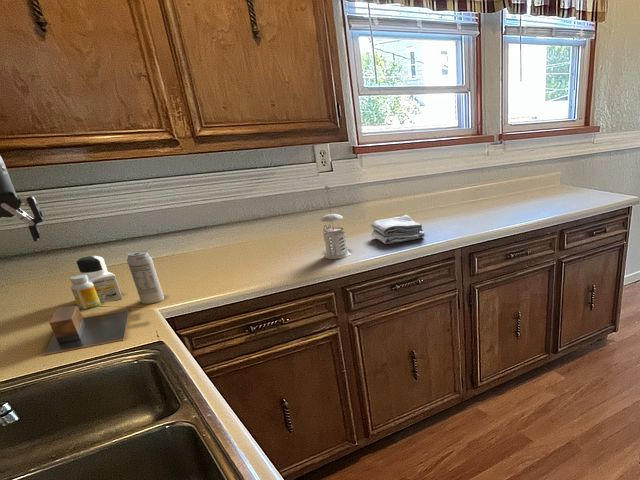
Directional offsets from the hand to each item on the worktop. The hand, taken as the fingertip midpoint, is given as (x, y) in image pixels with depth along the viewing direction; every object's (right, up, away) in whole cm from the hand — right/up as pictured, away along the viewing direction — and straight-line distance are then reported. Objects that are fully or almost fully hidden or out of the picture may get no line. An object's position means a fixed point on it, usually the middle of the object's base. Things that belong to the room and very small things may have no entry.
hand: (14, 242), depth 126 cm
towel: (+79, +22, +89) cm, 121 cm away
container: (-1, -11, +31) cm, 33 cm away
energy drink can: (+16, -12, +27) cm, 34 cm away
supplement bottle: (0, -14, +25) cm, 28 cm away
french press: (+59, +10, +68) cm, 91 cm away
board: (+12, -22, +8) cm, 26 cm away
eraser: (+9, -22, +6) cm, 25 cm away
